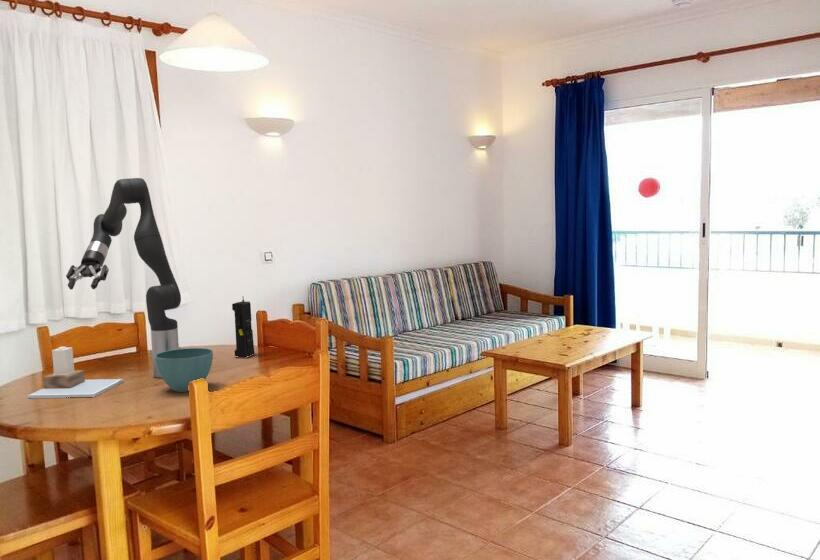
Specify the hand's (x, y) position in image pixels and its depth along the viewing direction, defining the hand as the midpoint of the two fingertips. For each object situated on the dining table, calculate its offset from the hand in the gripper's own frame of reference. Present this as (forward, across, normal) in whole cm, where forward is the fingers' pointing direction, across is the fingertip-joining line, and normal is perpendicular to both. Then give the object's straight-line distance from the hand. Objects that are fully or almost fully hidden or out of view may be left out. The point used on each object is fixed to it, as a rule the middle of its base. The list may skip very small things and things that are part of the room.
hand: (81, 288), depth 239 cm
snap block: (+35, +4, +4) cm, 35 cm away
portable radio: (+6, +53, +40) cm, 67 cm away
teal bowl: (+41, +48, +4) cm, 63 cm away
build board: (+40, +10, +5) cm, 42 cm away
